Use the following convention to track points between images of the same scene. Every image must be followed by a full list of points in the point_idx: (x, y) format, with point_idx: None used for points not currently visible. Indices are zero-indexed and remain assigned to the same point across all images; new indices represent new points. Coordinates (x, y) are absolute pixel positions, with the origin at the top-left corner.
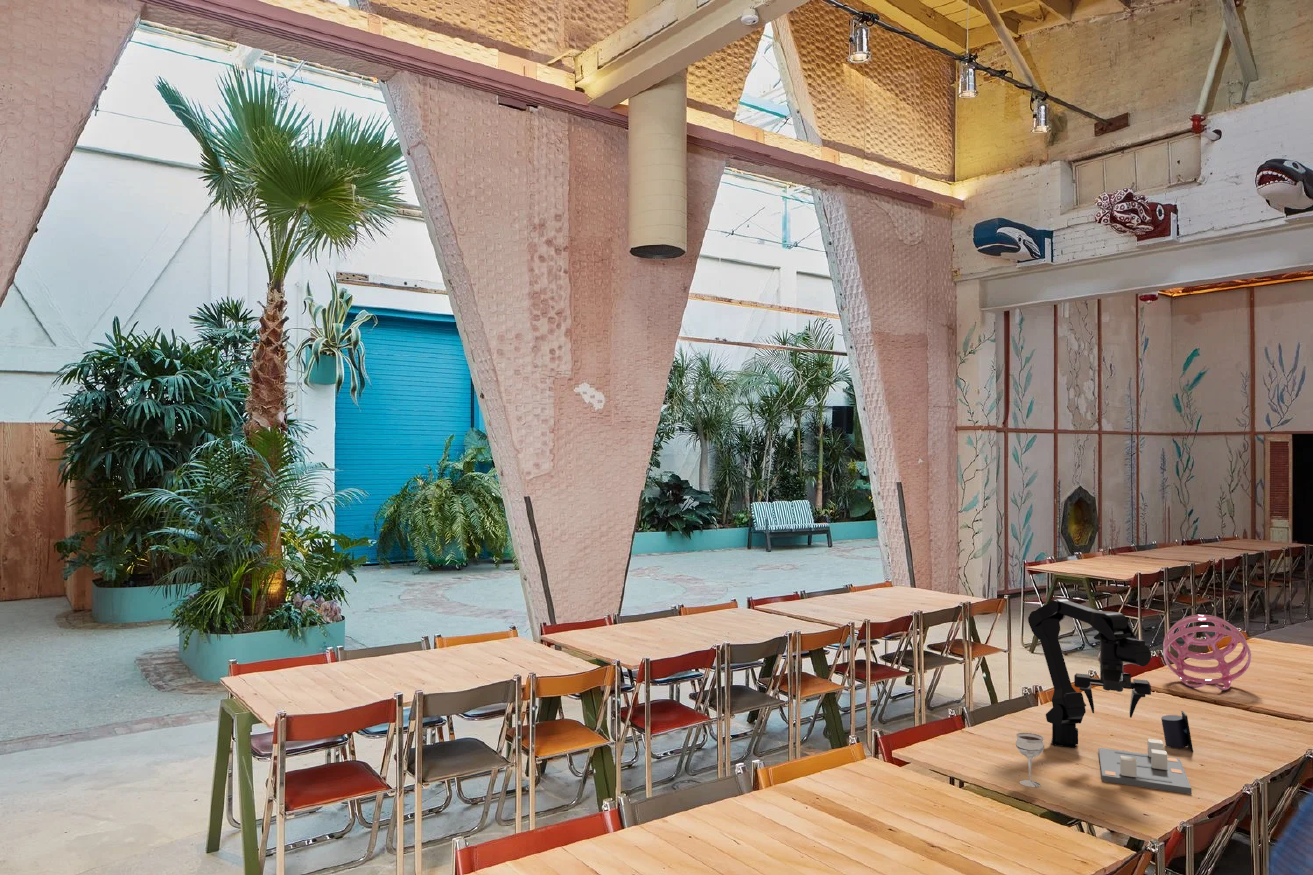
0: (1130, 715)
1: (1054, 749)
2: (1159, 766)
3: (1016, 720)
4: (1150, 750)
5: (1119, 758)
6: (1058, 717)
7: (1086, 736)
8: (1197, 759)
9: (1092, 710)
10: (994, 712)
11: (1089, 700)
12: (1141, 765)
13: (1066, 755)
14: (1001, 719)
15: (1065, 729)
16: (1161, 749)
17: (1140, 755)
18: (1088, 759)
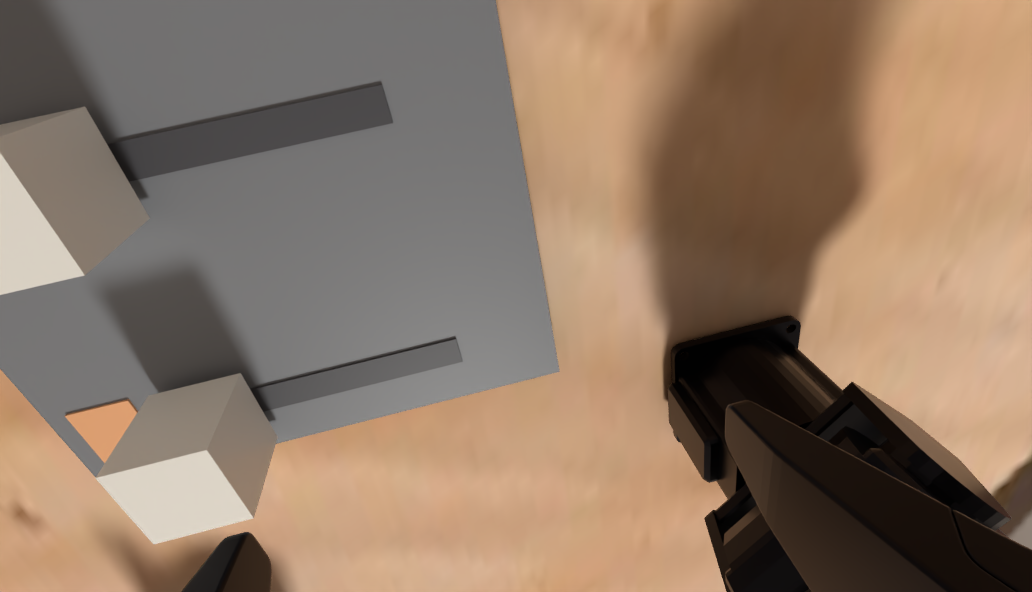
0: (228, 557)
1: (785, 249)
2: (12, 124)
3: None
4: (215, 405)
5: (401, 238)
6: (902, 426)
7: (629, 536)
8: (92, 572)
9: (772, 417)
10: None
11: (965, 531)
12: (209, 161)
13: (723, 176)
14: None
15: (784, 402)
16: (131, 437)
17: (307, 384)
18: (592, 185)
